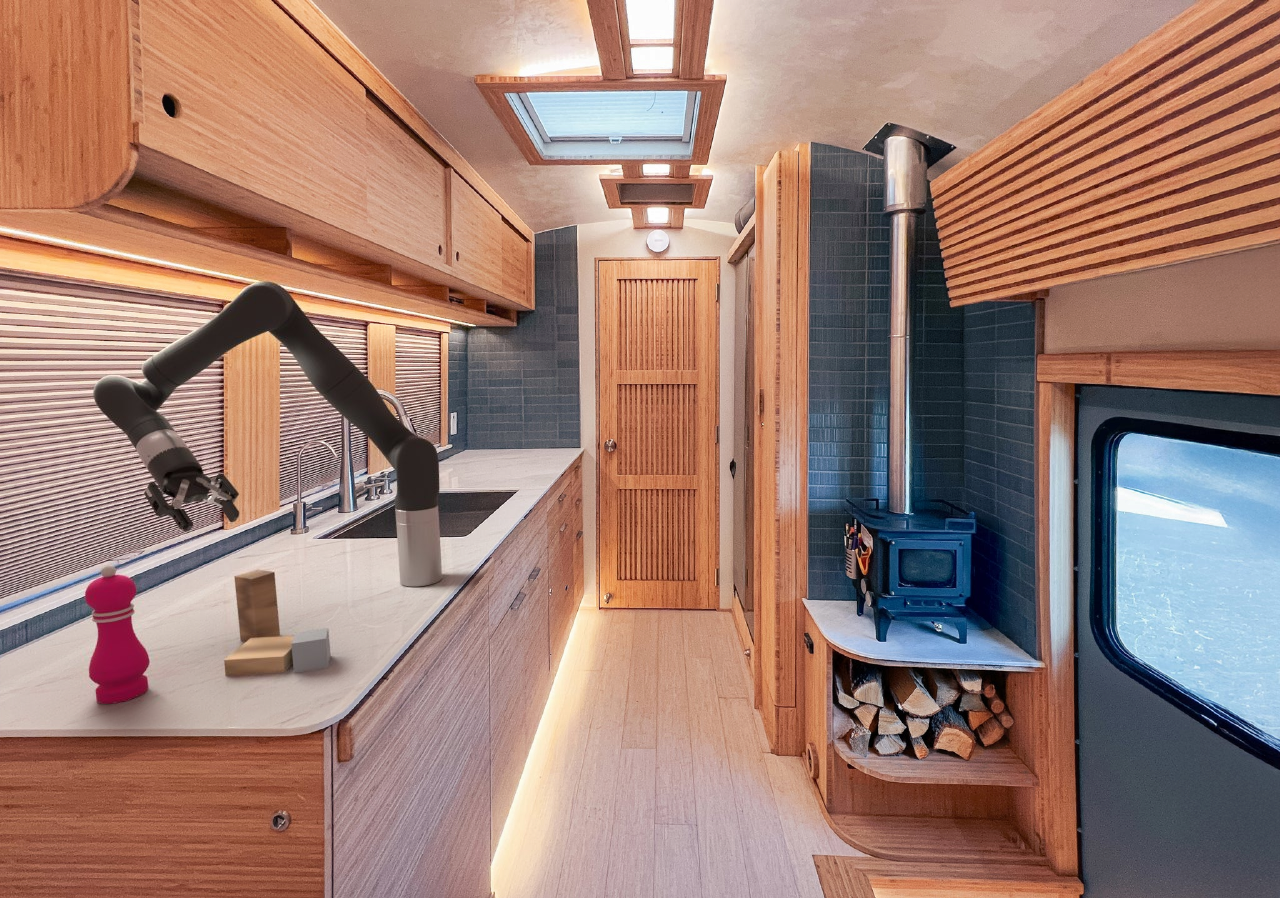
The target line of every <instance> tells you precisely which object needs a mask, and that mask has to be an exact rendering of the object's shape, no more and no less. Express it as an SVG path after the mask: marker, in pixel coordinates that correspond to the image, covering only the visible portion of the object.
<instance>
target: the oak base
mask: <svg viewBox="0 0 1280 898" xmlns="http://www.w3.org/2000/svg"><path fill="white" fill-rule="evenodd" d="M293 638H294V635H280V636H277V637H261V638H250V639H249V640H248V641H247V642H243V644H242V645H240V646H238V648H237V649H236V650H234V651H233V652H232V653H231V654H229V655H228V656H226V657H225V659H224V660H223V664H224V672H225V673H224V674H225V677H230V676H241V675H243V676H244V675H256V674H257V675H260V674H273V673H274V674H275V673H276V674H277V673H286V671H287V670H288V669H289V668H290V667H291V666H292V665H293V656H292V645H291V643H292V640H293Z"/></svg>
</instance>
